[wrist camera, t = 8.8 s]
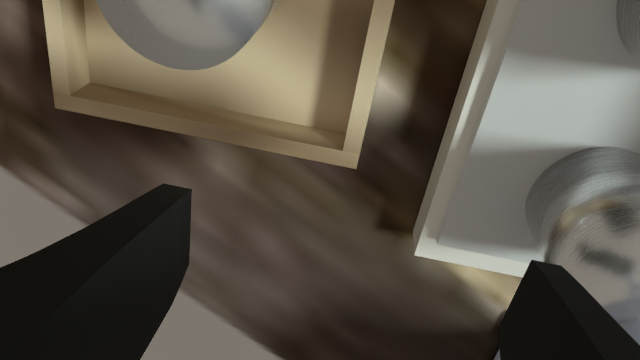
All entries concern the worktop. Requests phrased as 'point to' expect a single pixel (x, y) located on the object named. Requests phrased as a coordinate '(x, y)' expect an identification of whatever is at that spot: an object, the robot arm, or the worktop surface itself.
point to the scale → (524, 124)
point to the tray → (234, 78)
